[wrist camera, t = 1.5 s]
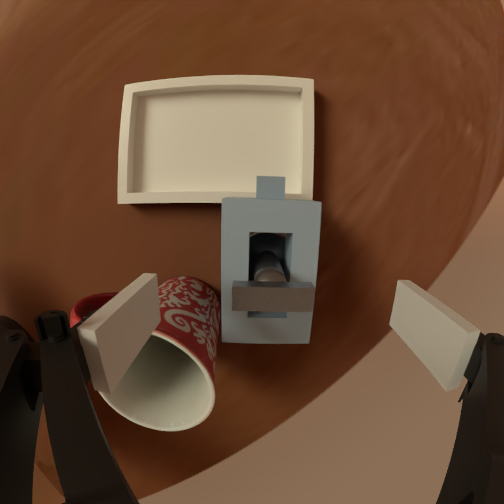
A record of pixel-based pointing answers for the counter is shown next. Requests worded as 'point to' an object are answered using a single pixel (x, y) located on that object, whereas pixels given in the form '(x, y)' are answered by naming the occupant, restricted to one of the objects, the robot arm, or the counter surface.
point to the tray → (215, 138)
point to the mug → (169, 358)
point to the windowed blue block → (295, 259)
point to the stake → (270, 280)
